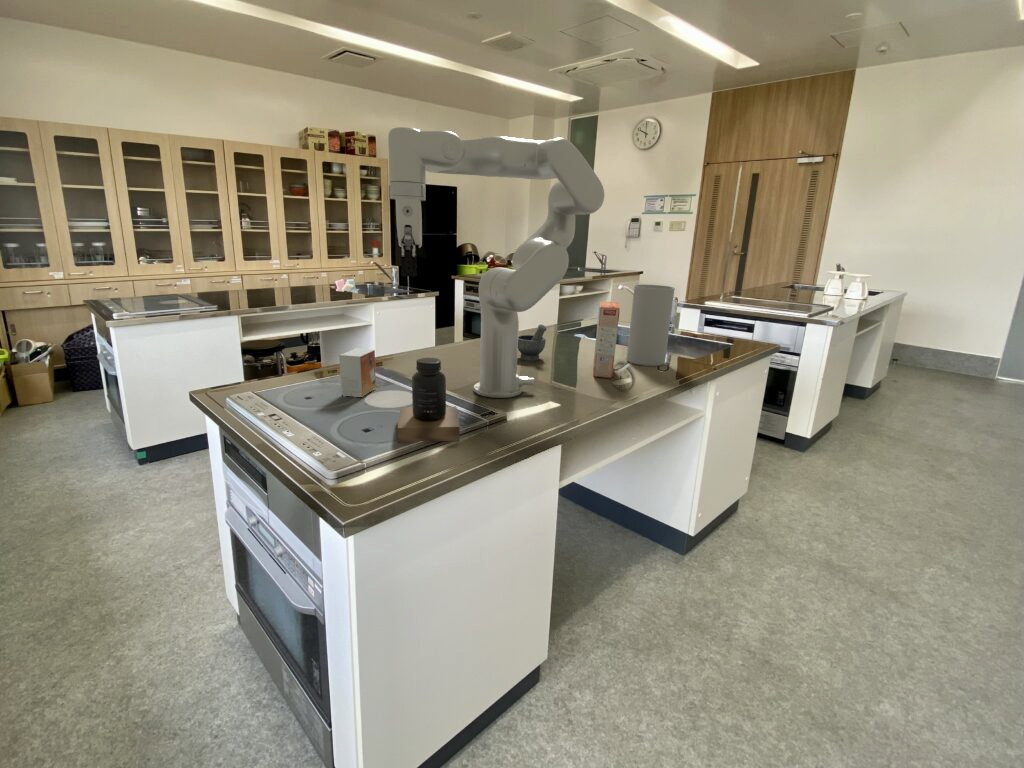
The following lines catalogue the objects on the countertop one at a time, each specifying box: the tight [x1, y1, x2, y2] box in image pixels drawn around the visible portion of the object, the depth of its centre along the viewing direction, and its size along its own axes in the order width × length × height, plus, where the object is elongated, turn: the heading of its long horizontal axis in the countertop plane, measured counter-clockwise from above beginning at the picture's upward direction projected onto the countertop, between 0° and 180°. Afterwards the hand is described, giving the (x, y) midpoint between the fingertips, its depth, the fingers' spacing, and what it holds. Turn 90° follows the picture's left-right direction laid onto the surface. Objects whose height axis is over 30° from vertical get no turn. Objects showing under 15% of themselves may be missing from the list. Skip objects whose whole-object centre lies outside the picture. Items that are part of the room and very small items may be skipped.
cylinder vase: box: [626, 284, 675, 367], centre depth 168 cm, size 12×12×25 cm
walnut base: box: [397, 406, 461, 443], centre depth 106 cm, size 12×12×3 cm
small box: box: [338, 347, 377, 398], centre depth 127 cm, size 8×6×10 cm
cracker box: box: [593, 300, 621, 379], centre depth 154 cm, size 14×6×21 cm, turn 171°
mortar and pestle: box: [518, 324, 547, 362], centre depth 168 cm, size 11×9×12 cm
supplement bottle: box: [411, 357, 447, 421], centre depth 105 cm, size 7×7×12 cm
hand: (409, 274), depth 114 cm, fingers open, 9 cm apart
